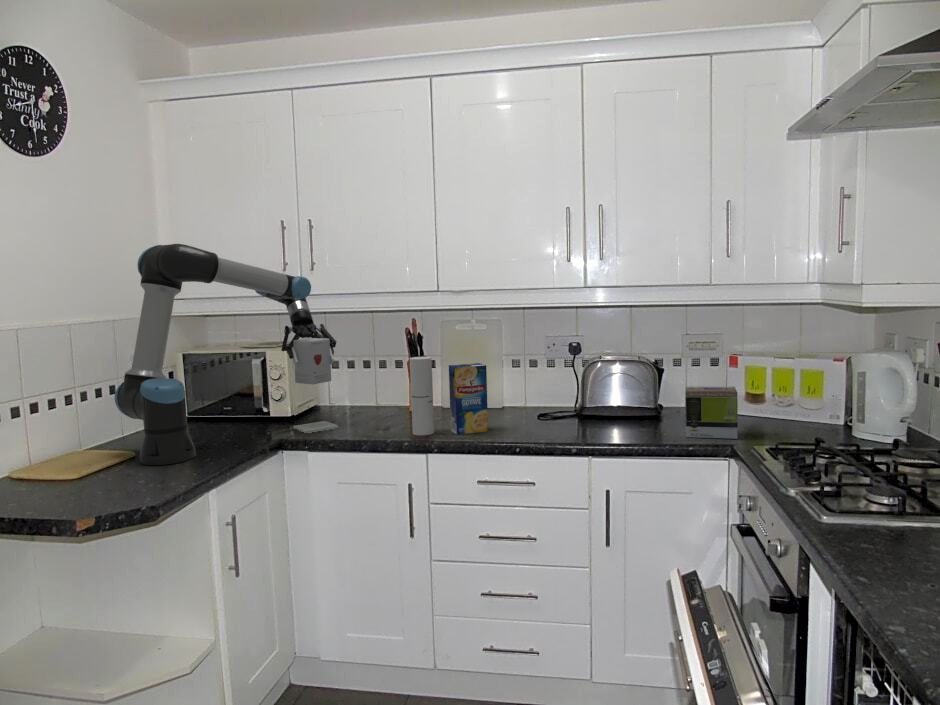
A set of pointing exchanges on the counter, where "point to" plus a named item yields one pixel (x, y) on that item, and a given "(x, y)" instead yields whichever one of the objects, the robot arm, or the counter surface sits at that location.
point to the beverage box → (468, 398)
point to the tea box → (711, 412)
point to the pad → (315, 427)
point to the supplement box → (312, 360)
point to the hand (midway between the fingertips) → (314, 363)
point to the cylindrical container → (422, 395)
